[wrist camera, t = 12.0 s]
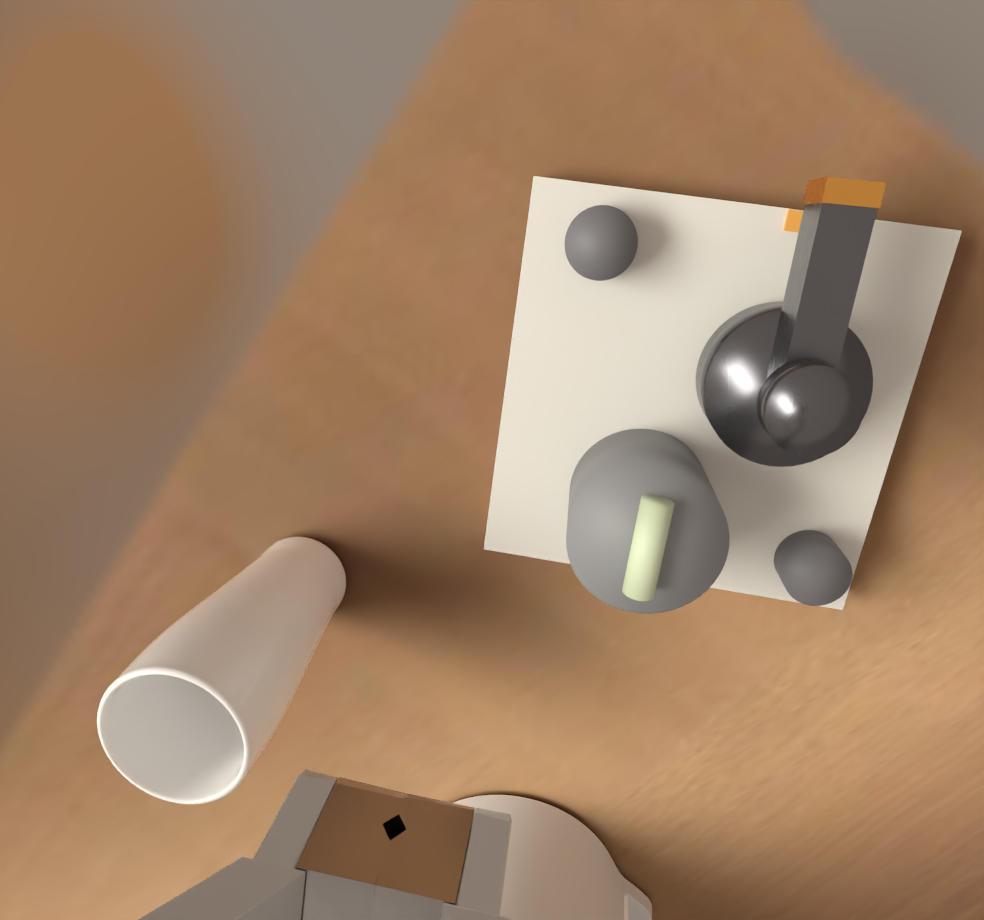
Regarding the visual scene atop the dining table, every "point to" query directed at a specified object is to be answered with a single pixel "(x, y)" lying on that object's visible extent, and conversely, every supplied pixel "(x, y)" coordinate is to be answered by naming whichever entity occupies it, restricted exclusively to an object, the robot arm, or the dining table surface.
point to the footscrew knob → (798, 342)
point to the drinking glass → (221, 676)
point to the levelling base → (685, 399)
